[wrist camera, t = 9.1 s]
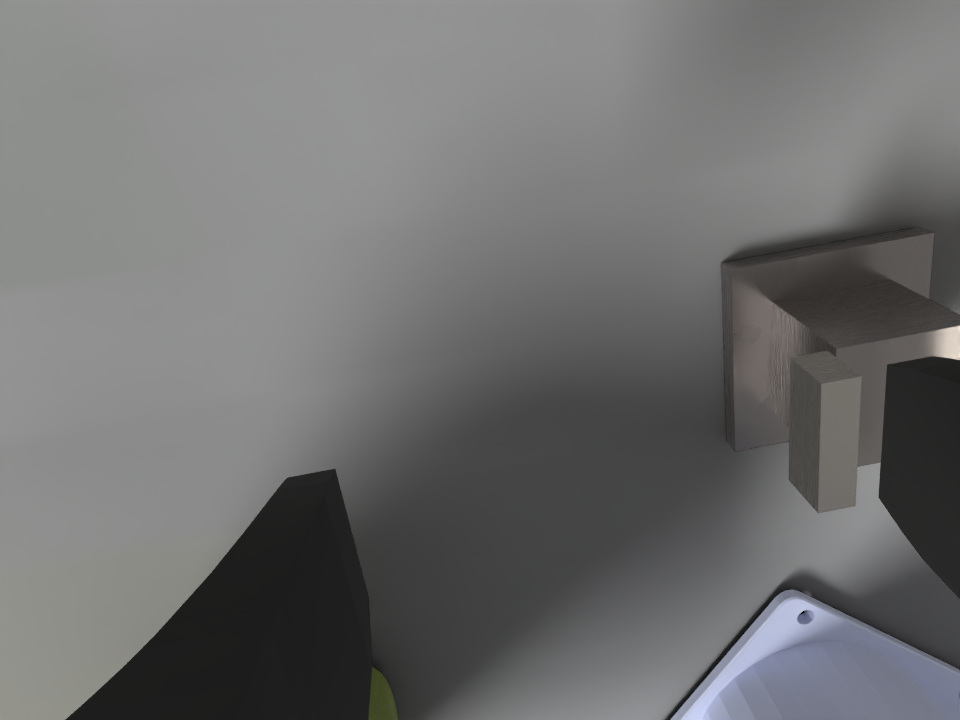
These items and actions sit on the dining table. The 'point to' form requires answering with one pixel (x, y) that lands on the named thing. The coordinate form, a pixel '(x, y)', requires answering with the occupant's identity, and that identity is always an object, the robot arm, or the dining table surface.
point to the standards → (827, 351)
